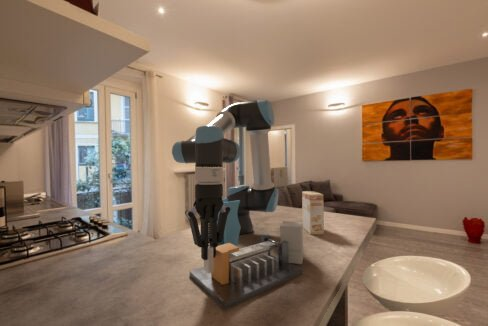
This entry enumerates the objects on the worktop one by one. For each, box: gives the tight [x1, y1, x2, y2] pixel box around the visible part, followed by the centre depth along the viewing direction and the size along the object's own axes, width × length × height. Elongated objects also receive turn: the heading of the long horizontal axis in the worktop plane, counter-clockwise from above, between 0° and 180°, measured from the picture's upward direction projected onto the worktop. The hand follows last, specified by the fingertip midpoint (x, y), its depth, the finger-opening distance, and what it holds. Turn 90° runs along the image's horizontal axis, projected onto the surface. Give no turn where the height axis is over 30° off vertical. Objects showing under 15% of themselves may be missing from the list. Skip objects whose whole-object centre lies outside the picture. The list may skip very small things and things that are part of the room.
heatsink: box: [189, 234, 303, 311], centre depth 67 cm, size 20×28×8 cm
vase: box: [217, 198, 241, 247], centre depth 85 cm, size 8×8×20 cm
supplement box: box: [279, 220, 304, 265], centre depth 78 cm, size 7×7×13 cm
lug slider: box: [211, 243, 240, 285], centre depth 63 cm, size 6×6×8 cm
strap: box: [228, 238, 279, 262], centre depth 69 cm, size 6×20×2 cm, turn 127°
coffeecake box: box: [301, 190, 325, 236], centre depth 114 cm, size 15×7×20 cm, turn 179°
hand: (208, 270), depth 59 cm, fingers closed
